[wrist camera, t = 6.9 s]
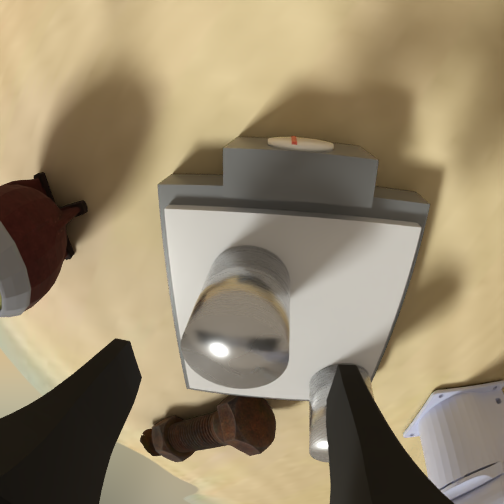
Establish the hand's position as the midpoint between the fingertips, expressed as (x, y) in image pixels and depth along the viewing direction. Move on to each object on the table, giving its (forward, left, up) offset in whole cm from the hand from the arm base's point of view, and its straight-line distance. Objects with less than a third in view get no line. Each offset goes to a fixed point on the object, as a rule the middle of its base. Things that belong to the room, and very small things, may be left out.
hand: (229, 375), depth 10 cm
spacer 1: (0, 0, -6) cm, 6 cm away
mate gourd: (+14, -2, -9) cm, 17 cm away
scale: (-2, +2, -9) cm, 9 cm away
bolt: (+5, +18, -9) cm, 21 cm away
